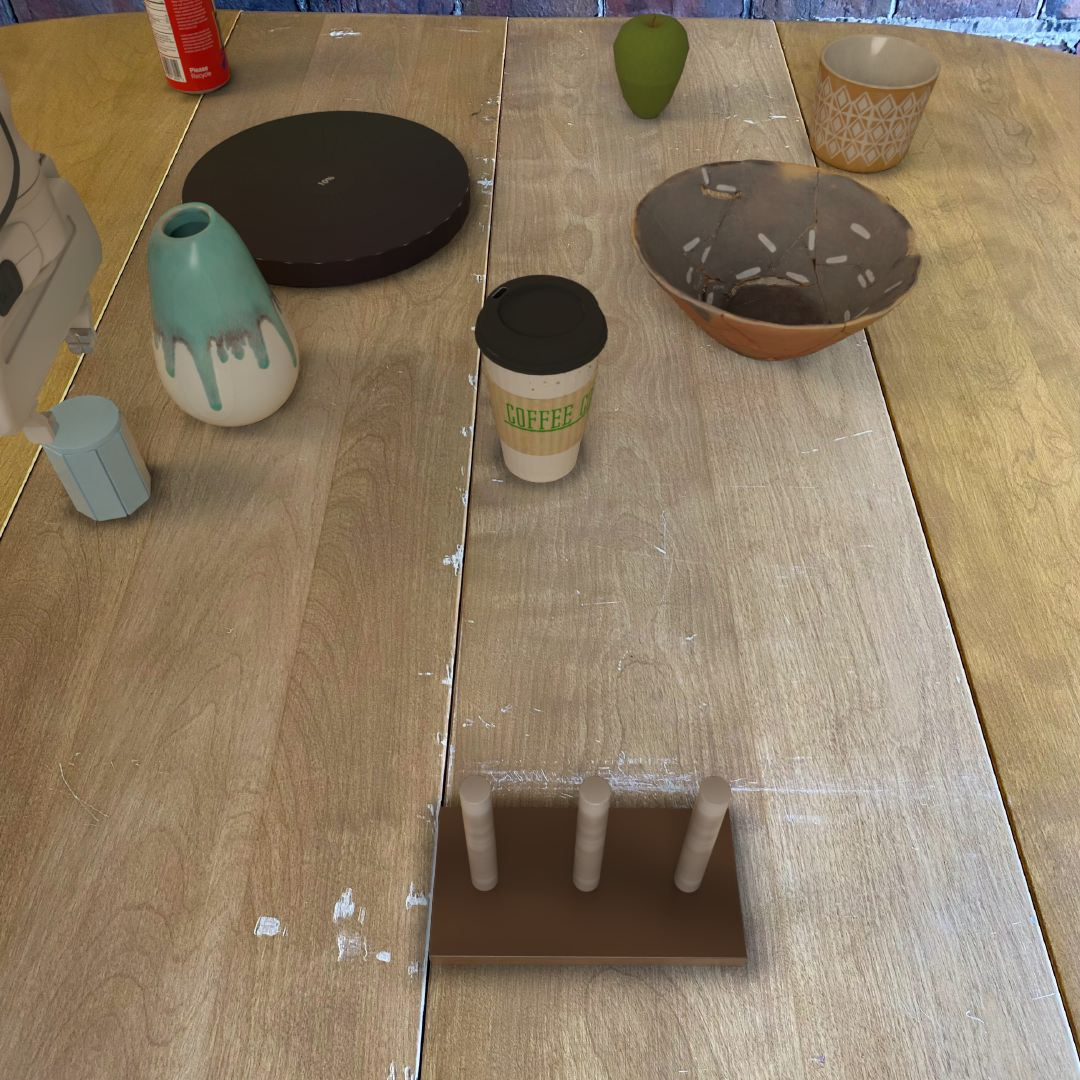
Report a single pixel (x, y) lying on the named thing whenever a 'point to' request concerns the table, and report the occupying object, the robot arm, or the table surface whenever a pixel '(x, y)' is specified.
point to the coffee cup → (540, 370)
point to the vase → (216, 321)
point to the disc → (335, 194)
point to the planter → (870, 100)
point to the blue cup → (98, 458)
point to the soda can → (189, 44)
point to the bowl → (775, 254)
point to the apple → (650, 61)
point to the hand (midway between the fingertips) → (66, 390)
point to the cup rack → (586, 882)
